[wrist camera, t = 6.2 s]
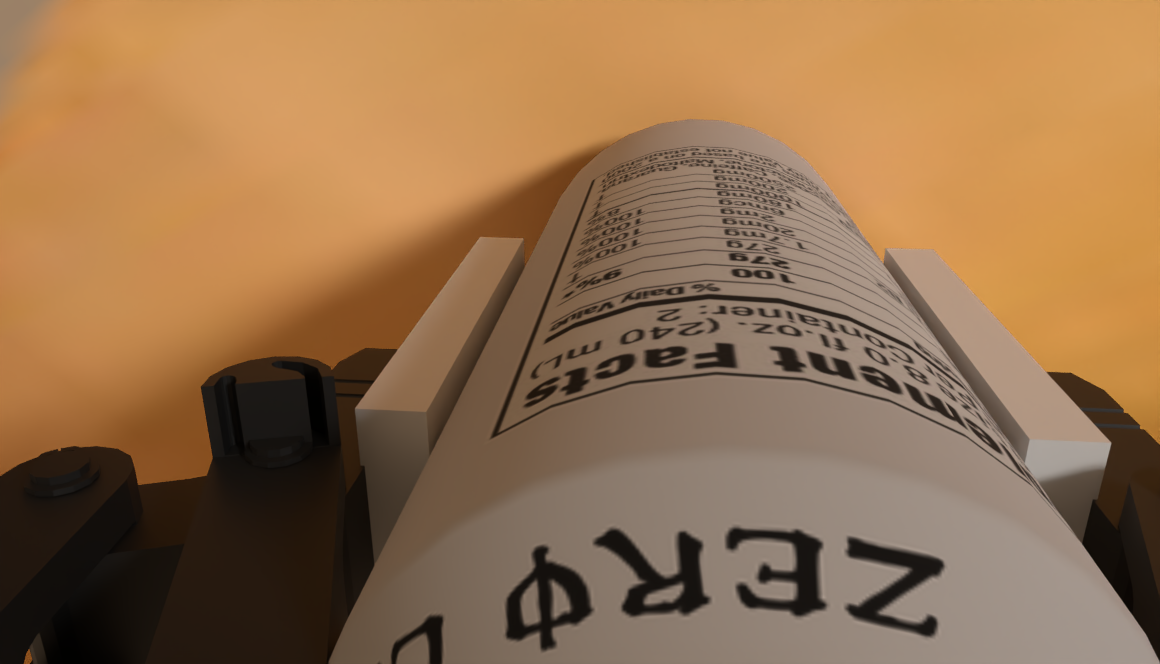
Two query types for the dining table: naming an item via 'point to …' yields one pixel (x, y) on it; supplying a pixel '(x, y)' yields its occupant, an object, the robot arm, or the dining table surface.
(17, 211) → the dining table surface
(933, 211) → the dining table surface
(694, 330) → the energy drink can
